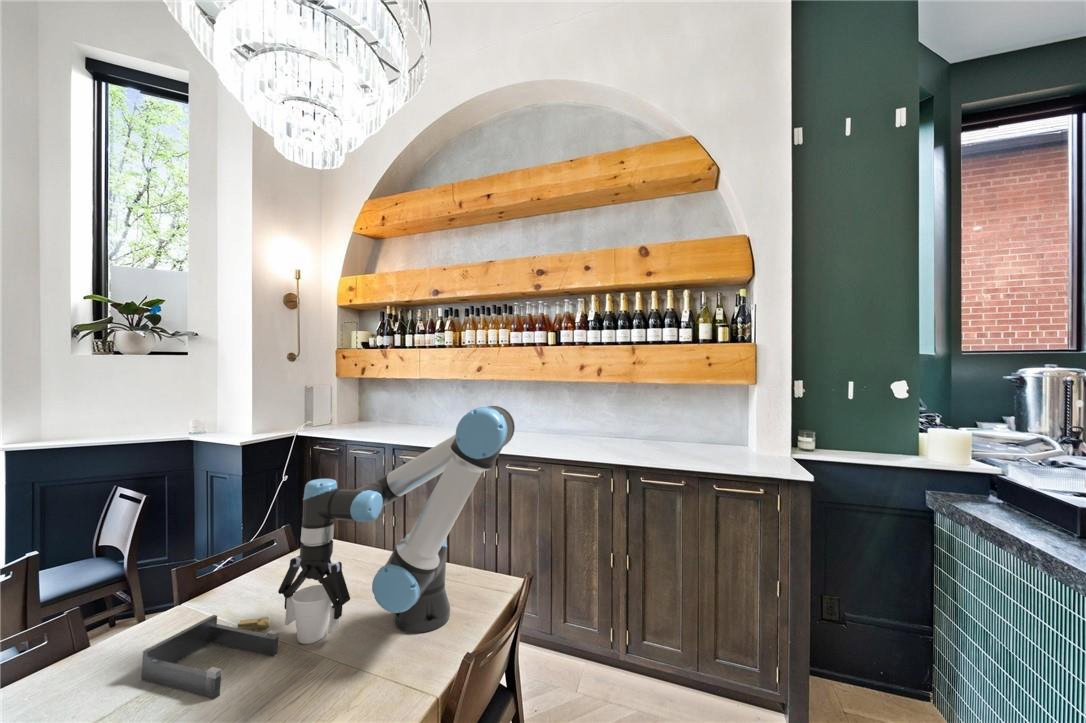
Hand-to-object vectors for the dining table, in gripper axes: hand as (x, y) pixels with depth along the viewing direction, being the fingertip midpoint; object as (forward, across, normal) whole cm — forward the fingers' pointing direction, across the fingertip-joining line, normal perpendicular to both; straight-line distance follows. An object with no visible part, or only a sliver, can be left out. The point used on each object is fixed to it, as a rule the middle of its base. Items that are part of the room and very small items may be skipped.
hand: (311, 626), depth 109 cm
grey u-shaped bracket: (+3, +12, +16) cm, 20 cm away
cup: (+3, 0, 0) cm, 3 cm away
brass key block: (+3, +18, +2) cm, 18 cm away
